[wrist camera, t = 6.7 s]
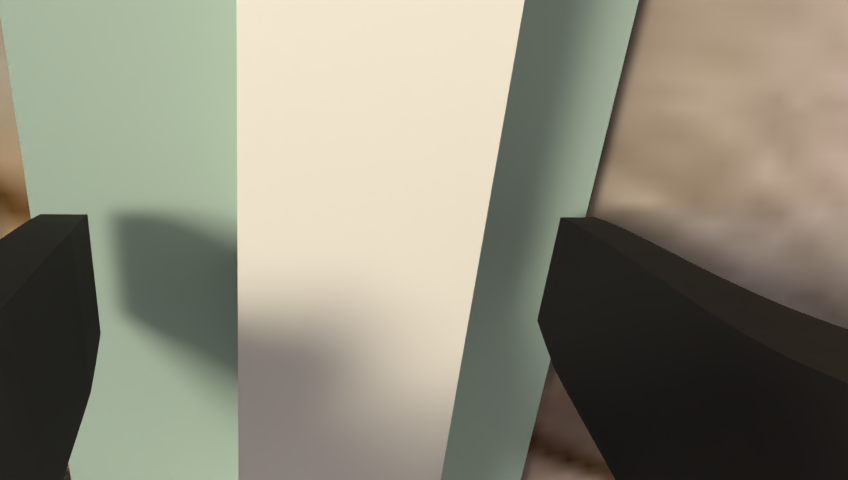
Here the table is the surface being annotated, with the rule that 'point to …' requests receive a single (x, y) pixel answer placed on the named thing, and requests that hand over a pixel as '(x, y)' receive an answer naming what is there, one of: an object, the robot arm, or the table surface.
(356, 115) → the rail
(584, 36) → the mat
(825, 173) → the table surface
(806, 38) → the table surface
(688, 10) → the table surface
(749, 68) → the table surface
